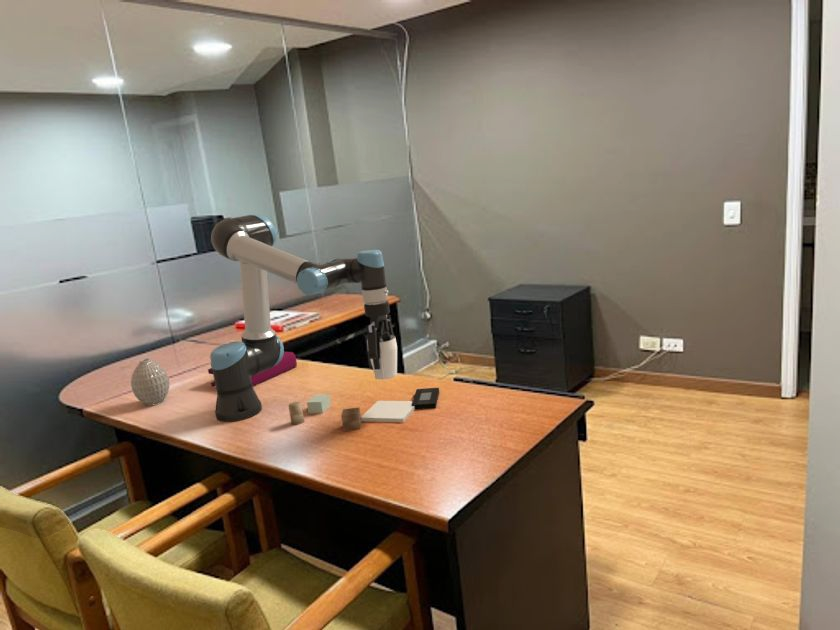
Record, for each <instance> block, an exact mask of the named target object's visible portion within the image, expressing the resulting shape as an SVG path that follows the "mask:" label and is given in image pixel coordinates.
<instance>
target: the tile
mask: <svg viewBox="0 0 840 630" xmlns="http://www.w3.org/2000/svg"><path fill="white" fill-rule="evenodd" d="M412 402H413V400H410V401H409V400H377V401H376V402H375V403H374V404H373V405H372V406H371V407H370V408H369V409H368V410H367V411H366V412H364V414H363V415H361V422H372V423H373V422H375V423H376V422H378V423H405V422H406V421H407V420H408V419H409V417H410V416H411V415H412V414H413V412H414V411H416V410H415V406H412Z"/></svg>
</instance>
